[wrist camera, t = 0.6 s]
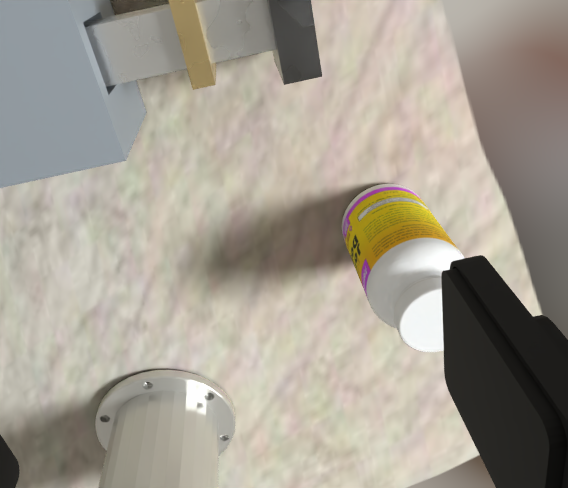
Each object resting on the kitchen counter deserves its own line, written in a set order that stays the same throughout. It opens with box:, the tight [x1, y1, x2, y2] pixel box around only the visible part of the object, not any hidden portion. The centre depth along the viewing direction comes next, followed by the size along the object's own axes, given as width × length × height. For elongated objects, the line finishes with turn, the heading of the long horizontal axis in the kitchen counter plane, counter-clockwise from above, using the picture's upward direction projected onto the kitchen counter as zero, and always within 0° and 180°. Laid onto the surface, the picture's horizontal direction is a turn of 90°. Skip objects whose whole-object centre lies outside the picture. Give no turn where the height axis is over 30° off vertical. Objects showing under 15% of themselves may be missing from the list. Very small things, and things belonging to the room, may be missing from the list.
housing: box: [0, 0, 146, 188], centre depth 30 cm, size 10×8×9 cm
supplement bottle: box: [342, 184, 465, 352], centre depth 37 cm, size 7×7×13 cm
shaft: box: [83, 0, 322, 90], centre depth 29 cm, size 6×14×6 cm, turn 101°
